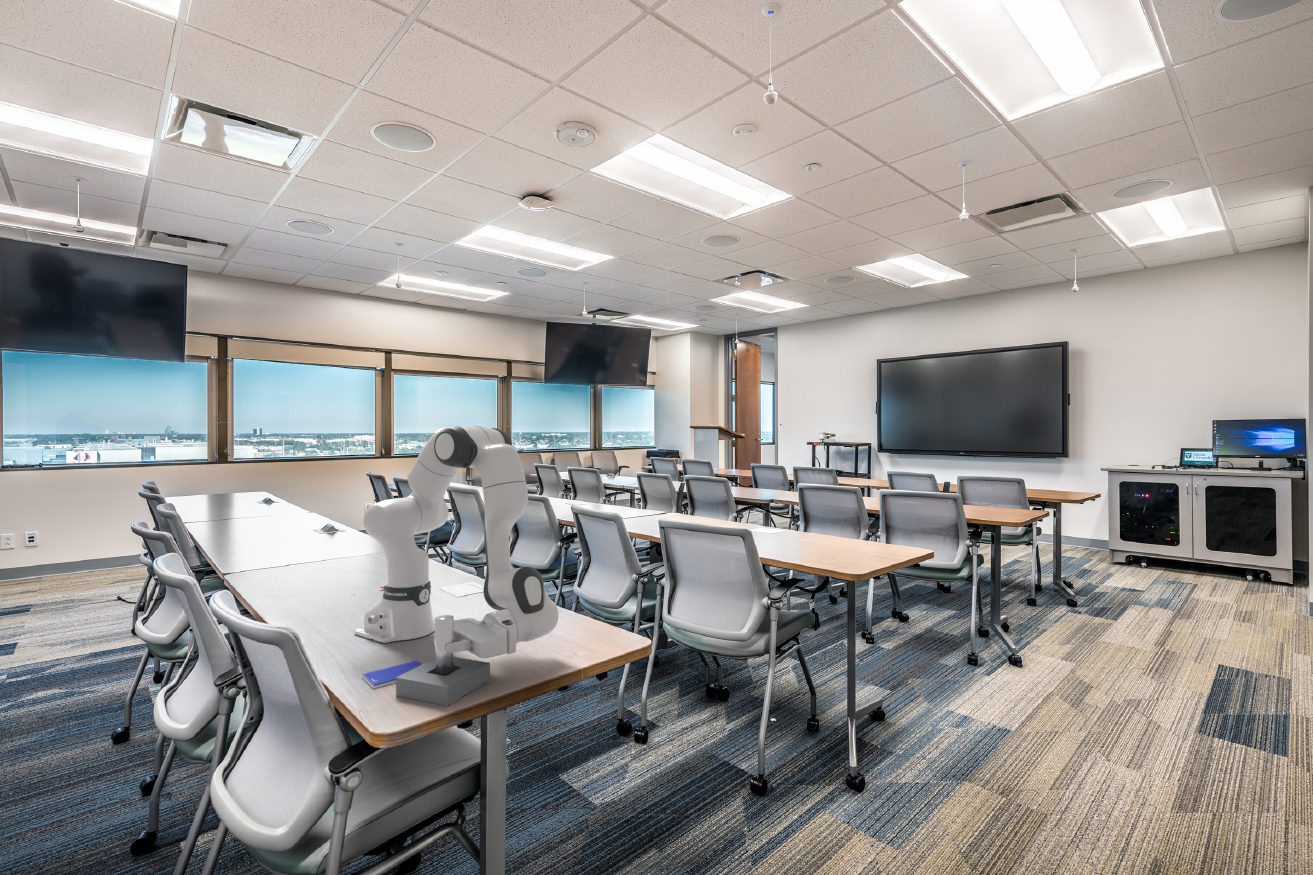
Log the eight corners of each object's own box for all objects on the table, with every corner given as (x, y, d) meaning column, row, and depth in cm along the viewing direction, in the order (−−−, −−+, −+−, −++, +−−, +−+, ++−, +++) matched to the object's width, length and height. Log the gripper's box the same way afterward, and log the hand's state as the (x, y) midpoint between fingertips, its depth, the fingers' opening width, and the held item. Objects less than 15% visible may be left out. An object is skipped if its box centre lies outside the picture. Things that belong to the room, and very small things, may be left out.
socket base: (396, 695, 126) (396, 677, 126) (442, 671, 139) (441, 654, 139) (447, 706, 121) (447, 686, 121) (490, 679, 134) (490, 662, 134)
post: (431, 682, 129) (430, 619, 129) (444, 675, 133) (443, 614, 133) (445, 685, 128) (445, 621, 128) (458, 677, 131) (457, 616, 131)
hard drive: (373, 684, 130) (428, 669, 138) (362, 673, 136) (416, 659, 144) (373, 691, 130) (428, 675, 138) (362, 679, 136) (416, 665, 144)
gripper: (475, 608, 147) (421, 621, 137) (519, 626, 132) (461, 642, 122) (476, 633, 147) (421, 647, 137) (519, 654, 132) (461, 672, 122)
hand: (440, 645), depth 129 cm, fingers closed on post, 4 cm apart
